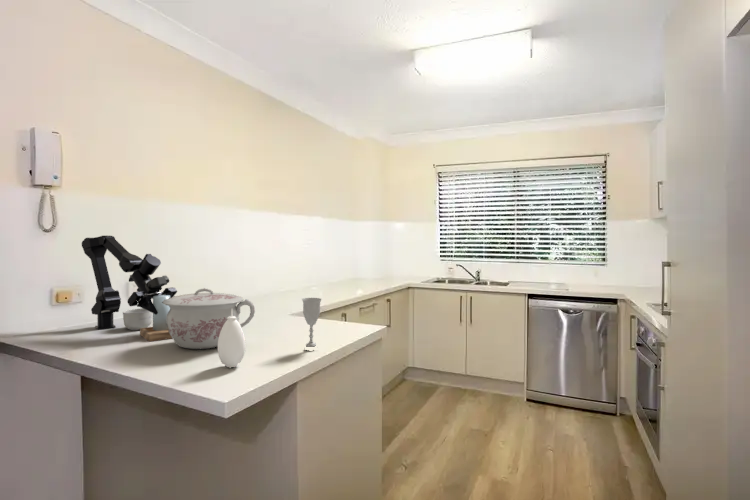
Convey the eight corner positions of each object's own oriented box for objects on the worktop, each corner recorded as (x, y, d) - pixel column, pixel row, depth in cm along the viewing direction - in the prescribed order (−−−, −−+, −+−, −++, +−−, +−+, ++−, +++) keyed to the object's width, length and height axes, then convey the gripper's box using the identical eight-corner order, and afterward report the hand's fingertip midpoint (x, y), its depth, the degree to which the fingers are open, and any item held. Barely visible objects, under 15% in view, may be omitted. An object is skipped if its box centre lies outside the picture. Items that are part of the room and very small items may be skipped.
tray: (140, 334, 166) (140, 328, 165) (172, 330, 174) (172, 324, 174) (149, 341, 155) (149, 334, 155) (183, 337, 163) (183, 330, 163)
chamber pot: (144, 348, 146) (144, 289, 146) (208, 333, 171) (208, 282, 170) (199, 360, 133) (199, 295, 133) (260, 342, 158) (260, 287, 157)
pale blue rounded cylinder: (149, 330, 161) (149, 296, 161) (157, 327, 167) (158, 294, 167) (165, 330, 161) (165, 297, 161) (172, 327, 167) (173, 295, 167)
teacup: (142, 331, 171) (142, 312, 171) (116, 331, 171) (116, 311, 171) (161, 324, 185) (161, 306, 185) (136, 324, 185) (136, 306, 185)
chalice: (325, 349, 148) (325, 299, 148) (309, 353, 143) (310, 301, 143) (312, 345, 153) (312, 297, 153) (297, 349, 148) (297, 298, 148)
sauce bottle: (237, 361, 132) (237, 305, 132) (249, 367, 127) (250, 308, 126) (213, 366, 127) (213, 307, 126) (225, 372, 121) (225, 311, 121)
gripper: (132, 270, 157) (153, 302, 153) (174, 267, 174) (193, 296, 170) (118, 290, 160) (138, 321, 156) (160, 285, 177) (179, 313, 173)
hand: (163, 312), depth 164 cm, fingers closed on pale blue rounded cylinder, 6 cm apart
